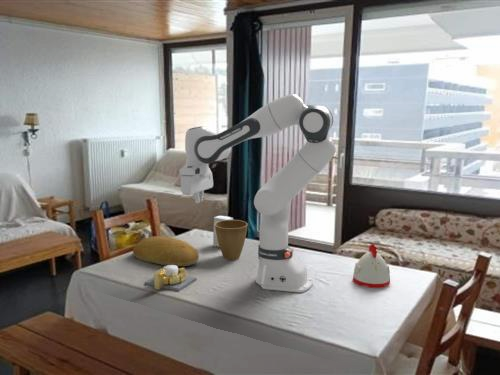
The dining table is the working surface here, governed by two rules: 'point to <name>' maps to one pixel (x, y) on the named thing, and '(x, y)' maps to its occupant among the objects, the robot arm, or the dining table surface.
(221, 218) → the skincare box
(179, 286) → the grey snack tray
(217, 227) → the plant pot
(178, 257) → the bread
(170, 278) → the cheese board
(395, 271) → the dining table surface
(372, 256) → the white knit hat
